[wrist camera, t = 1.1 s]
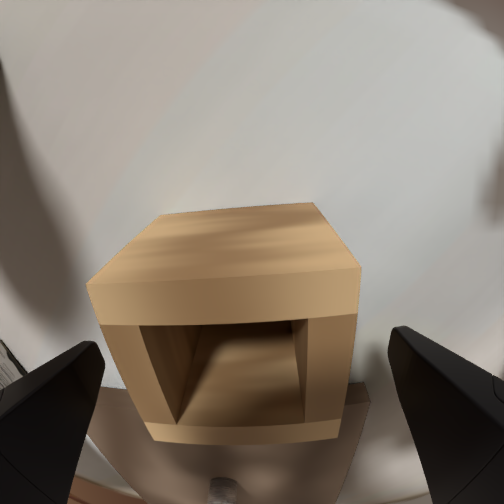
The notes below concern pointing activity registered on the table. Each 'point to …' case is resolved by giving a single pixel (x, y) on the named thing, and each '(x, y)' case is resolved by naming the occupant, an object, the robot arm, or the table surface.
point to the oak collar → (233, 324)
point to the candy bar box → (8, 368)
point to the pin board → (225, 459)
